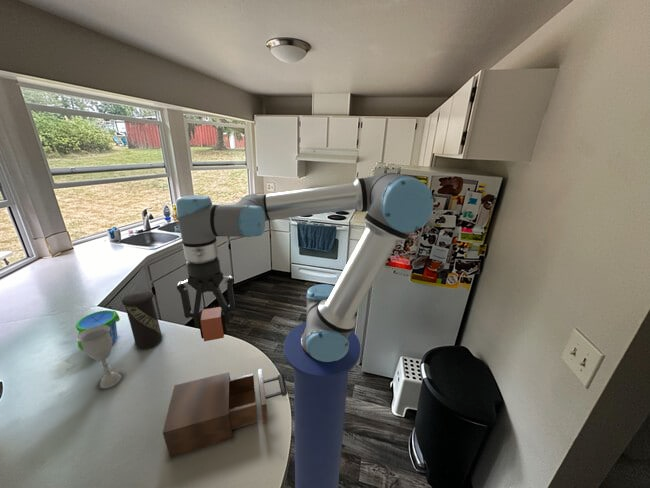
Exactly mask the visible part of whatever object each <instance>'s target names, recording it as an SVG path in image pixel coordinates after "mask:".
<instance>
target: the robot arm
mask: <svg viewBox="0 0 650 488" xmlns="http://www.w3.org/2000/svg"><path fill="white" fill-rule="evenodd" d="M175 207H176V210H175V211H176V219H177V221H178V227H179V232H180V236H181V240H182V241H181V243H182V249H183V253H184V254H183V255H184V259H185V260H186V262H185V264H186V269H187V275H188V276H187V279H186V280H184V281H183V280H180V281H178V283H177V285H176V290H177V291H178V293H179V294H180V299H181V304H182V309H183V315H184V318H186V319H189V318H192V319H193V323H194V327H195V328H196V329H197V328H199V332H200V338H201V339H204V338H203V332H202V327H201V322H200V319H201V315H202V312H200V308H201V303H202V297H203V294H204V293H206V292H212V294H213V295H214V297H215V299H216V300H217V302H218V304H219V307H221V309H222V311H221V319H222V325H223V332H224V335H227V334H228V324H227V323H229V322H230V312H231V311H232V312H233V311H235V310H236V302H235V294H234V287H233V284H234V275H233V274H230V275H224V274H223V272H222V270H221V263H220V258H219V250H218V249H219V248H218V240H217V237H232V238H235V237H237V238H253V237H261V236H262V235H263V234H264V233H265V227H266V222H267V221H273V220H282V219H289V218H290V219H291V218H297V217H306V216H313V215H320V214H321V215H322V214H331V213H337V212H345V211H353V210H355V211H358V212H359V213H363V212H364V213H366V214H365V215H364V223H365V229H364V231H363V232H362V234H361V236H360V238H359V240H358V242H357V244H356V246H355V247H354V250H352V253H351V255H350V256H349V259H348V260H347V263H346V264H345V266H344V268H343V270H342V271H341V273H340V275H339V278H338V279H337V281H336V283H335V284H334V285H332V284H325V283H324V284H323V283H321V284H316V285H313V286H310V287H308V289H307V291H306V321H305V322H306V328H305V329H304V330H302V333H303V335H302V339H301V346H302V349H303V351H304V352H305V353H306V354H307V355H308V356H310V357H312V358H314V359H316V360H319V361H323V362H332V361H337V360H339V359H341V358H343V357H344V356H345V355H346V354H347V352H348V349H349V341H348V336H349V335H350V333H351V331H354V330H353V329H354V328H355V326H356V324H357V320H356V316H355V315H356V313H357V311H358V310H359V308H360V306H361V305H362V303H363V302H364V300H365V299H366V296H367V295H368V293H369V292H370V289H371V288H372V286H373V285H374V284H375V281H376V280H377V278H378V276H379V274H380V273H381V271H382V269H383V267H384V266H385V264H386V262H387V261H388V259H389V257H390V255H391V254H392V252H393V251H394V249H395V247H396V245H397V244H398V243H400V242H404V241H407V239H408V238H409V237H410V234H411V233H412V232H414V231H416V230H419V229H421V228H423V226H425V225H426V224H427V222H428V221H429V220H430V218H431V216H432V215H433V210H434V198H433V193H432V192H431V189H430V188H429V186H428V185H427V184H426V183H424V182H423V181H422V180H419V179H418V178H416V177H414V176H411V175H405V174H401V173H397V172H386V173H381V174H376V175H372V176H367V177H361V178H356V179H354V181H353V182H349V183H343V184H333V185H327V186H319V187H311V188H304V189H296V190H288V191H280V192H273V193H272V192H271V193H266V194H265V193H264V194H256V193H251V194H246V195H245V196H243V197H242V198H241V199H240V200H238V201H237V202H236V203H234V204H222V205H221V204H213V202H212V198H211V197H210V196H208V195H203V194H191V195H184V196H181V197H178V198H177V199H176V200H175ZM222 282H224V284H225V285H226V290H227V291H226V292H227V299H228V303H227V301H226V298H225V297H224V294H223V292H222V291H221V287H220V285H221V283H222ZM189 287H191V288H193V289H194V290H195V299H194V305H193V306H194V307H193V310H192V305H191V300H190V295H189Z"/></svg>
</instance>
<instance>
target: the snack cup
mask: <svg viewBox="0 0 650 488" xmlns="http://www.w3.org/2000/svg"><path fill="white" fill-rule="evenodd" d="M120 320H121V319H120V315H119V314H118V312H117V311H115V310H110V309H109V310H108V309H105V310H99V311H95V312H93V313H90V314H87V315H85V316H84V317H82V318H80V319H79V320H78V321H77V322H76V324H75V328H76V330H77V331H78V334H77V336H78V335H79V334H80V333H81V332H83V331H84V330H86V329H88V328H91V327H94V326H99V325H107V326H109V327H110V331H109V333H110V336H111V339H112V344H113V343H114V342H115V341H116V340H117V339H118V327H117V322H120ZM77 346H78V348H79V350H81V351H84V349H83V347H82V344H81V342H80V341H78V340H77Z"/></svg>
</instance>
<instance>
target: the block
mask: <svg viewBox="0 0 650 488" xmlns="http://www.w3.org/2000/svg"><path fill="white" fill-rule="evenodd" d="M221 311H222V309H221V307H220V306H218V307H217V306H216V307H211V308H204V309H202V311H201V313H202V315H201V319H200V322H201V327H202V332H203V338H202V339H203V342H210V341H215V340H221V339H225V334H224V332H223V325H222V319H221Z"/></svg>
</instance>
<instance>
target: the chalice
mask: <svg viewBox="0 0 650 488" xmlns="http://www.w3.org/2000/svg"><path fill="white" fill-rule="evenodd" d="M109 331H110V327H109V326H107V325H99V326H94V327H91V328H88V329H86V330H84V331H83V332H81V333H80V334H79V333H78V334H79V335H78V334H77V336H76V341H77V342H78V341H80V342H81V344H82V347H83V349H84V350H83V352H84V354H85V355H87V356H88V357H89V358H91V359H93V360H94V361H96V362H101V365H100V366H101V367H103V368H102V372H105V373H104V375H103V376H102V377H101V380H100V383H99V388H101V389H109V388H112V387H114V386H116V385H117V384H118V383H119V382H121V379H122V375H121V374H120V373H119V372H117V371H113V370H112V371H110V369H111V366H109V362H108V361H107V359H108V358H109V357H110V354H111V351H112V348H113V343H112V339H111V336H110V333H109Z"/></svg>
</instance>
